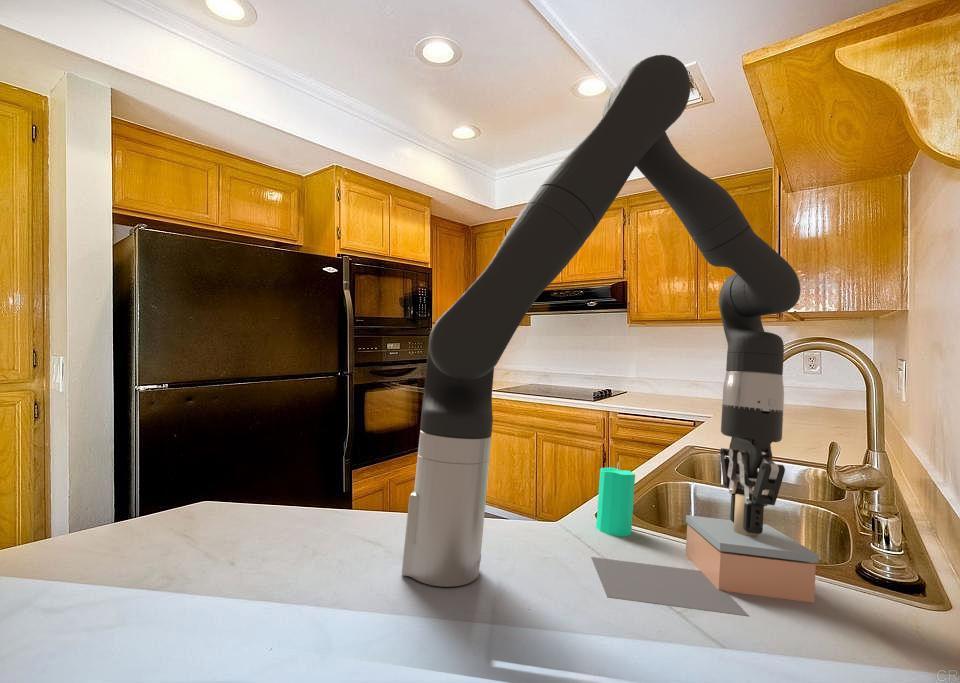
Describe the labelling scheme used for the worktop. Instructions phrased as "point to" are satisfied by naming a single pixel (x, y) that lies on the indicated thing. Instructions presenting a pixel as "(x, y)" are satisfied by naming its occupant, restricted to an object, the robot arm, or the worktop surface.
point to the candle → (615, 501)
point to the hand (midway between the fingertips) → (745, 527)
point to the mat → (663, 586)
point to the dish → (751, 571)
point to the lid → (749, 537)
